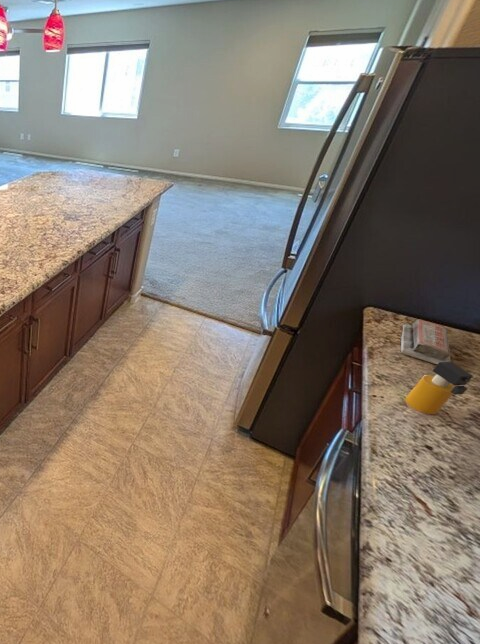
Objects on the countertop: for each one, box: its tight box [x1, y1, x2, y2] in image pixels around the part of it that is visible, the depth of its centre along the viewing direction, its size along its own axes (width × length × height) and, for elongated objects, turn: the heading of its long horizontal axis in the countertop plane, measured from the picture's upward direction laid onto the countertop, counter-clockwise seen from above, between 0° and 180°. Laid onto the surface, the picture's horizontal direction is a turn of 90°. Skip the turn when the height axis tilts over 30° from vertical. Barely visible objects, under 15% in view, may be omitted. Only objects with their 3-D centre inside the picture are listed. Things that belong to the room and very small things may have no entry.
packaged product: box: [400, 319, 452, 365], centre depth 115 cm, size 18×5×10 cm
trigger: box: [451, 385, 468, 395], centre depth 91 cm, size 1×2×2 cm, turn 92°
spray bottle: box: [405, 361, 474, 415], centre depth 94 cm, size 6×6×14 cm
